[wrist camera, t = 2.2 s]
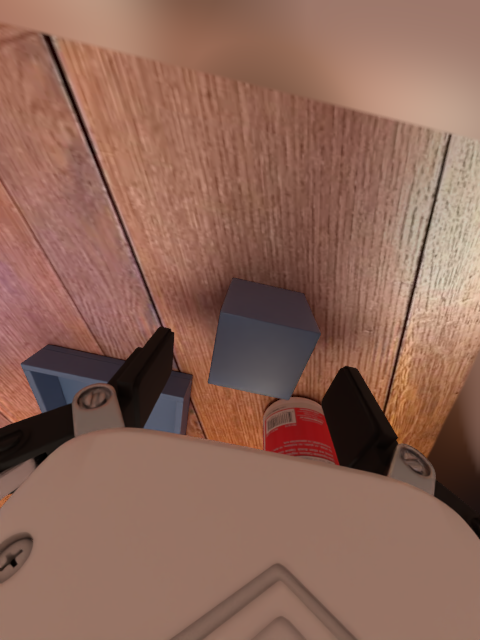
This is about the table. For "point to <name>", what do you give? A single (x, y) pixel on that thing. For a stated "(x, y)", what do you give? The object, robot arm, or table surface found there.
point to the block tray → (85, 369)
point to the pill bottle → (298, 430)
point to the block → (262, 339)
